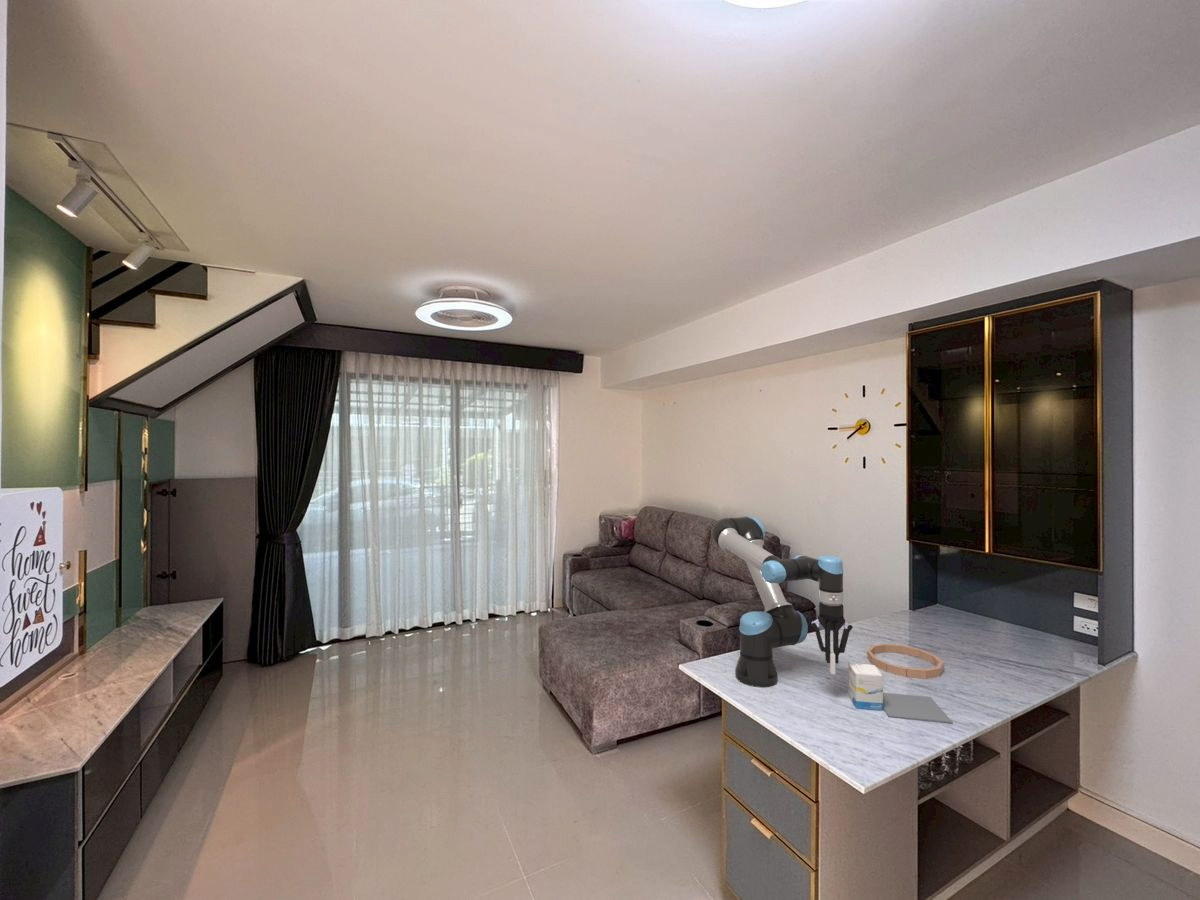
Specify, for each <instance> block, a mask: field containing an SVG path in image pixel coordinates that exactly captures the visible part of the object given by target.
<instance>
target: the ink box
mask: <svg viewBox="0 0 1200 900" xmlns="http://www.w3.org/2000/svg"><path fill="white" fill-rule="evenodd" d="M847 672H848V676H847V677H848V698H849V699H850V702H852V705H854V707H855V708H856V709H857V710H869V711H870V710H872V711H884V710H883V693H884V686H883V684H884V683H883V682H884V681H883V678H884V677H883V676H884V675H882V673H881V671H880V669H879V668H878V667H876V666H875V665H872V664H868V663H866V664H865V663H851V662H849V663H848V671H847Z"/></svg>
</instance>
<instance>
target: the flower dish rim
mask: <svg viewBox="0 0 1200 900" xmlns="http://www.w3.org/2000/svg"><path fill="white" fill-rule="evenodd" d="M883 653H893V654H894V653H895V654H904V655H907V654H908V656H911V655H912V657H916V656H917V657H916V658H919V657H920V658H919V659H922V660H924V659H925V660H924V661H926V660H927V661H926V662H928V663H932V664H933V666H935V667H930V668H924V669H923V668H914V667H913V668H910V667H903V666H900V665H897V664H892V663H889V662H886V661H884V660H882V659H880V658H878V657H876V656H875V655H876V654H883ZM866 658H867V660H868V661H869V663H871V664H870V665H875V666H876V668H877V669H879V670H882V671H884V672H886V673H888V674H889V673H890V674H893V675H897V676H901V677H905V678H911V679H922V678H924V679H923V680H928V678H929V679H933V677H934V678H938V677H937V676H939V677H941V676H942V674H941V673H943V672H944V662H943V661H942V660H941V659H940V658H939V657H938V656H937V655H935V654H933V653H930V652H928V651H926V650H923V649H921V648H916V647H913V646H907V645H903V644H892V643H880V644H874V645H871V646H870V647H869V648H868V649H867V650H866ZM942 671H943V672H942ZM940 675H941V676H940Z"/></svg>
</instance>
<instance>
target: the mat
mask: <svg viewBox="0 0 1200 900" xmlns="http://www.w3.org/2000/svg"><path fill="white" fill-rule="evenodd" d="M883 711H884V713H885V714H886V716H887V718H891V719H901V720H912V721H913V720H914V721H920V722H921V721H922V722H930V723H932V722H933V723H941V724H952V725H953V724H954V722H953V720H952V719H951V718H950V717H949V716H948V715H947V714H946V713H945V711H944V710H943V709H942V708H941V707H940V706H939V705H938V704H937V702H936V701H935V700H934V699H933V698H932V697H931V696H925V695H923V696H922V695H914V694H912V695H911V694H903V693H891V692H883Z"/></svg>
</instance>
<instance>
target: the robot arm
mask: <svg viewBox="0 0 1200 900" xmlns="http://www.w3.org/2000/svg"><path fill="white" fill-rule="evenodd" d="M765 533H766V529H765V526H764V525H763V522H761V520H759V519H758V518H757V517H753V516H742V517H741V516H740V517H724V518H720V519H719V520H717V521H716V522H715V523H714V525H713V526H712V528H711V533H710V535H711V539H712V541H713V543H714V544H715V545H716V546H717V547H718V548H720V549H721V550H723V551H729V552H731V553H732V554H734V555H735V556H736V557H738V558H739V559H742V560H744V562H745V563H746V565H747V568H748V570H749V573H750V575H751V577H752V580H753V582H754V585H755V588H756V589H757V592H758V595H759V597H760V599H761V603H762V604H763V607H764V611H761V610H760V611H757V610H755V611H754V610H753V611H749V612H746V613H744V614H742V616H741V617H740V619H739V628H738V629H739V657H738V661H737V663H736V666H735V670H734V672H735V673H734V674H735V675H736V676H735V678H736V679H737V680H738V681H739V680H740V681H739V682H741V683H743V684H745V683H746V684H745V685H747V684H749V686H751V685H753V686H752V687H756V686H760V687H759V688H762V687H763V688H765V687H767V686H768V687H771V686H775V685H777V684H778V680H779V679H778V677H779V676H778V675H779V674H778V671H777V668H776V665H775V662H774V657H773V653H774V652H773V649H775V648H776V649H777V648H782V647H788V646H795V645H798V644H801V643H803V642H804V641H805V640H806V639H807V636H808V630H809V627H808V623H807V622H808V621H807V619H806V617H805V616H804V614H803V613H801V612H800V611H798V610H795V607H794V606H793V604H792V603H790V602H787V599H786V598H785V596H784V593H783V591H782V588H781V586H780V585H779V584H780V583H785V582H787V583H788V582H794V581H803V580H811V581H814V582H818V600H819V603H818V616H817V618H816V619H815V620H811V621H810V623H811V626H812V627H813V629H814V633H815V635H816V639H817V643H818V647H819V649H820V651H821V652H823V653H825V655H824V656H825V661H826V663H827V664H828V671H829V673H830V675H836V664H839V659H840V658H839V655H840V654H844V653H845V652H846V647H847V645H848V644H847V643H848V639H849V635H850V632H851V631H852V630H853V625H852V624H851V623H850V622H847V621H846V618H845V616H844V615H845V614H844V610H845V609H844V605H843V604H844V566H843V560H842V558H840V557H838V556H833V555H821V556H819V557H818V558H813V557H811V556H808V555H801V554H800V555H799V554H798V555H796V556H795V557H793V558H787V559H782V558H780V557H778V556H776V555H774V553H773V554H772V553H770V552H769V551H768V550H766V549H764V548H763V546H764V544H765V541H764V540H765V538H766V534H765ZM820 625H821V626H822V628H823V630H824V642H823V639H822V635H821V631H820V628H819V627H820ZM841 628H843V630H842V635H841V638H840V642H839V636H840V635H839V633H840V630H841ZM831 631H832V644H833V645H832V650H833V651H831Z"/></svg>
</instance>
